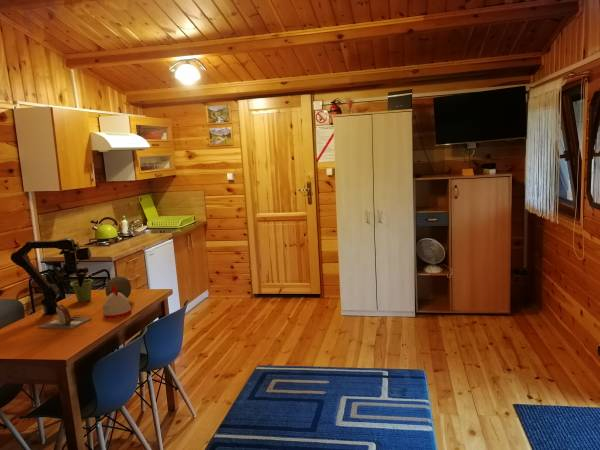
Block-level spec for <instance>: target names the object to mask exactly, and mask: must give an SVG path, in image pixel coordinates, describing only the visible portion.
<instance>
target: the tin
mask: <svg viewBox="0 0 600 450" xmlns="http://www.w3.org/2000/svg"><path fill="white" fill-rule="evenodd" d="M56 311H57V313H56V315H57V318H59V320H60V321H61V322H62V323H63V324H65V325H66V324H69V323H71V318H72V317H71V314H70V312H69V310H68V308H67V307H66V306H65V305H63V304H60V305H58V306H57V307H56Z"/></svg>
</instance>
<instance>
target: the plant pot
mask: <svg viewBox="0 0 600 450" xmlns="http://www.w3.org/2000/svg"><path fill="white" fill-rule="evenodd" d="M93 282H94V281H93V279H92V278H91V279H90V278H89V279H88V278H87V279H86V278H85V279H84V282H83V284H82V287H80V286H79V282H78V280H75V281H73V282H70V286H71V287H72V289H73V291H74V294H75V297H76V299H77V302H79V303H84V302H86V301H90V300H91V299H92V284H93Z"/></svg>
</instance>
